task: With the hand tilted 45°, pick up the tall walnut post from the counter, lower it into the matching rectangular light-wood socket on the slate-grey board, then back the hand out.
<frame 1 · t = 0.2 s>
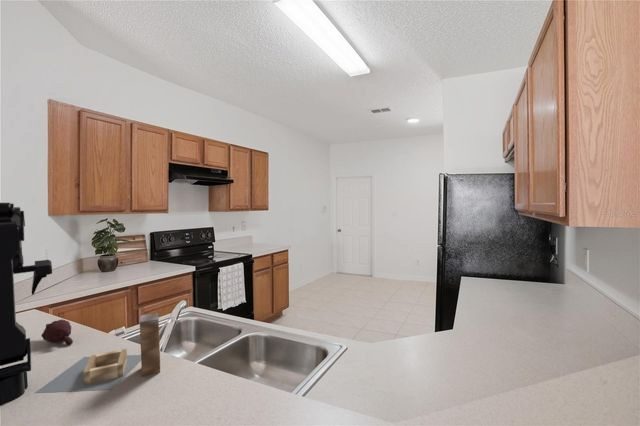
hand: (12, 297, 94), 15 cm above the counter, tool pointing down, fingers open, 9 cm apart
board: (97, 375, 79), on the counter
post: (151, 373, 80), on the counter
maroon bulbous piece: (57, 342, 99), on the counter
socket: (107, 371, 79), resting on board
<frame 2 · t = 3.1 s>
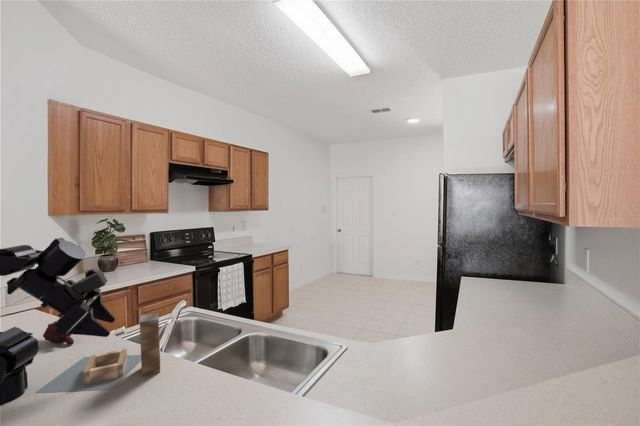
hand: (111, 327, 75), 14 cm above the counter, tool tilted 45°, fingers open, 9 cm apart
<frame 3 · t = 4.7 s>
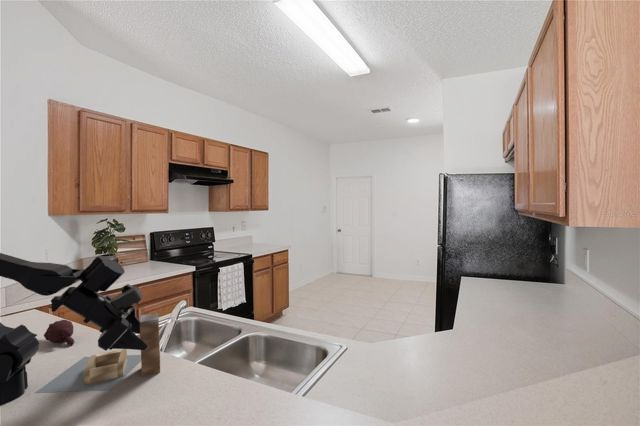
hand: (146, 340, 79), 9 cm above the counter, tool tilted 45°, fingers open, 9 cm apart
nothing on the counter moved.
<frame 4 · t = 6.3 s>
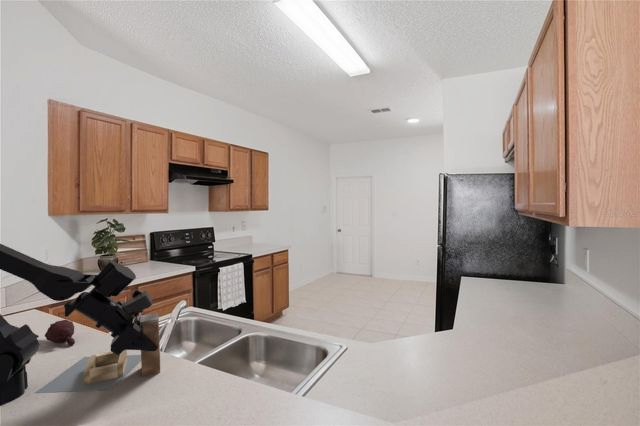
hand: (156, 344, 80), 7 cm above the counter, tool tilted 45°, fingers closed on post, 5 cm apart
post: (151, 373, 80), on the counter, touching gripper
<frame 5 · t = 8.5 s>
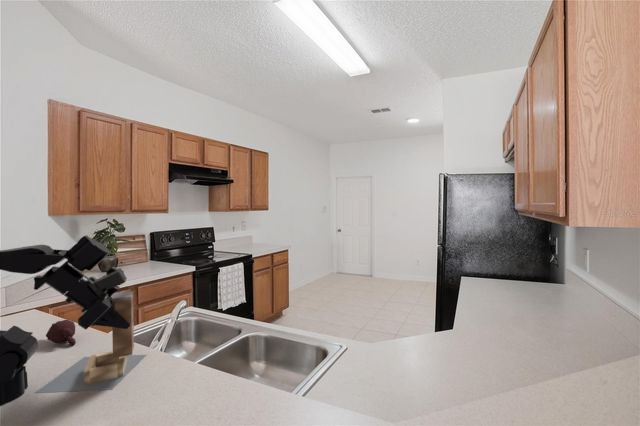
hand: (129, 323, 79), 13 cm above the counter, tool tilted 45°, fingers closed on post, 5 cm apart
post: (123, 351, 79), point 6 cm above the counter, touching gripper
when the fingers open (9 cm above the counter, at t = 10.8 s): post stays where it is, resting on board.
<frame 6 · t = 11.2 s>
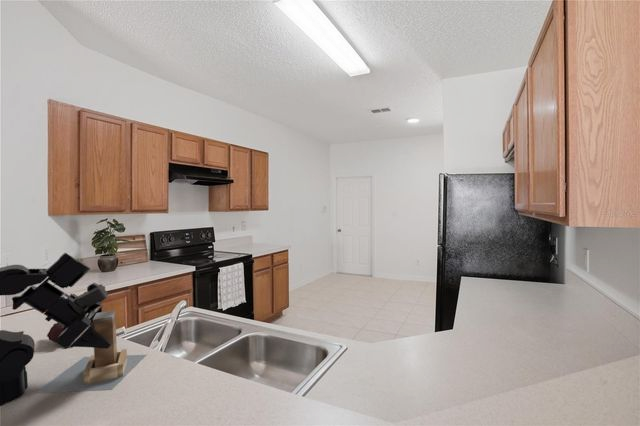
hand: (112, 339, 79), 9 cm above the counter, tool tilted 45°, fingers open, 9 cm apart
post: (106, 371, 79), point 1 cm above the counter, touching board
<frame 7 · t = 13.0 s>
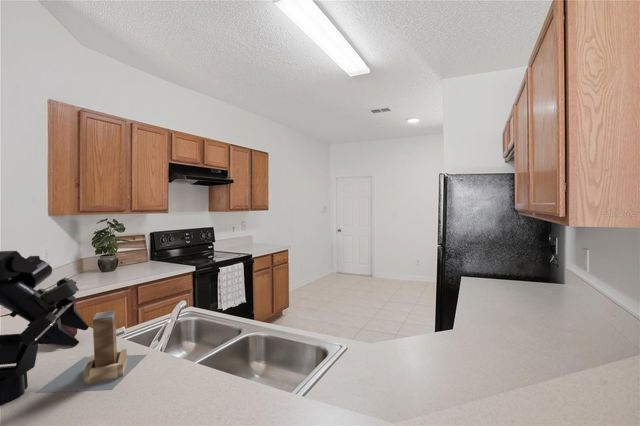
hand: (82, 335, 76), 11 cm above the counter, tool tilted 45°, fingers open, 9 cm apart
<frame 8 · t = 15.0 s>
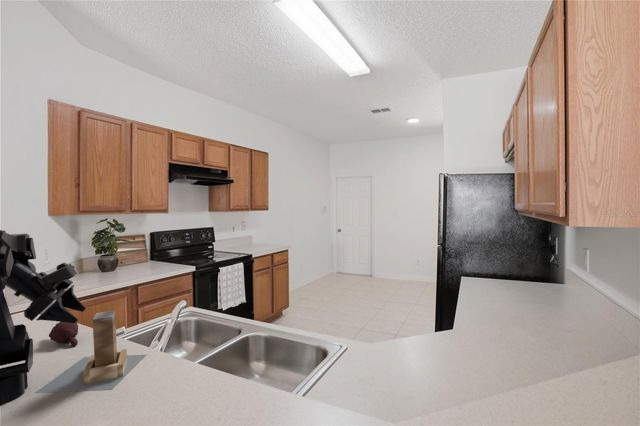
hand: (80, 315, 83), 14 cm above the counter, tool tilted 45°, fingers open, 9 cm apart
at the end: post 0.0 cm off-centre on the socket, point 0.0 cm above the socket's base; post tilted 0°; the gripper is holding nothing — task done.
